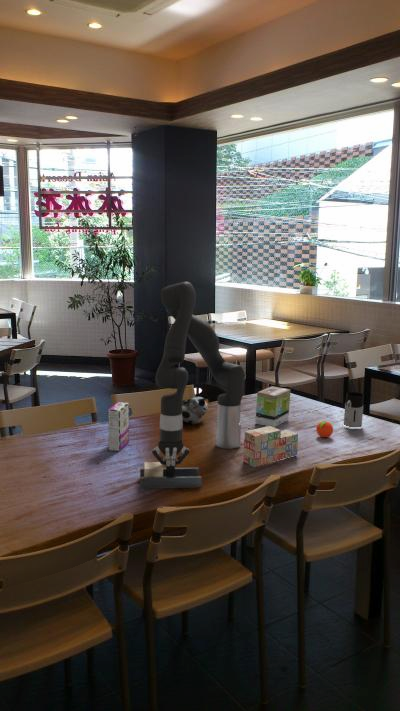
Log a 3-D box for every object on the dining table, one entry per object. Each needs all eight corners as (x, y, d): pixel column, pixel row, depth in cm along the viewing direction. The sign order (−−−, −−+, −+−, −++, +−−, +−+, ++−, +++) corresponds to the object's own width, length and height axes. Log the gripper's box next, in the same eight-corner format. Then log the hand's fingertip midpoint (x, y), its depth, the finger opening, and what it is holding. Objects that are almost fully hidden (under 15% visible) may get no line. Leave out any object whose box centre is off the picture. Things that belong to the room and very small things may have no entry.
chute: (198, 477, 210) (198, 467, 209) (201, 487, 201) (201, 477, 200) (140, 478, 207) (140, 468, 207) (140, 488, 199) (140, 478, 198)
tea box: (275, 428, 265) (276, 395, 262) (254, 424, 270) (256, 391, 267) (289, 420, 278) (291, 388, 275) (269, 416, 283) (270, 385, 280)
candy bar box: (117, 441, 243) (117, 401, 240) (129, 442, 242) (129, 402, 239) (107, 450, 232) (107, 409, 229) (120, 451, 231) (120, 410, 228)
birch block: (162, 475, 207) (162, 462, 206) (162, 483, 201) (163, 468, 200) (144, 476, 206) (144, 462, 205) (144, 483, 200) (144, 469, 199)
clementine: (326, 442, 249) (328, 425, 248) (311, 438, 253) (312, 421, 252) (335, 437, 256) (336, 421, 254) (320, 433, 260) (321, 417, 258)
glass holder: (365, 426, 272) (368, 393, 269) (354, 434, 260) (357, 400, 257) (346, 422, 276) (348, 390, 273) (335, 430, 264) (337, 397, 261)
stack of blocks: (286, 452, 237) (287, 421, 234) (297, 457, 232) (299, 426, 229) (243, 462, 225) (244, 430, 222) (253, 467, 220) (255, 435, 217)
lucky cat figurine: (181, 414, 281) (196, 389, 279) (201, 428, 276) (217, 402, 275) (167, 413, 267) (183, 386, 265) (188, 428, 262) (205, 401, 261)
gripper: (190, 422, 205) (188, 471, 208) (150, 422, 203) (150, 471, 206) (192, 429, 197) (190, 479, 201) (151, 430, 196) (150, 480, 199)
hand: (170, 475), depth 204 cm, fingers closed
